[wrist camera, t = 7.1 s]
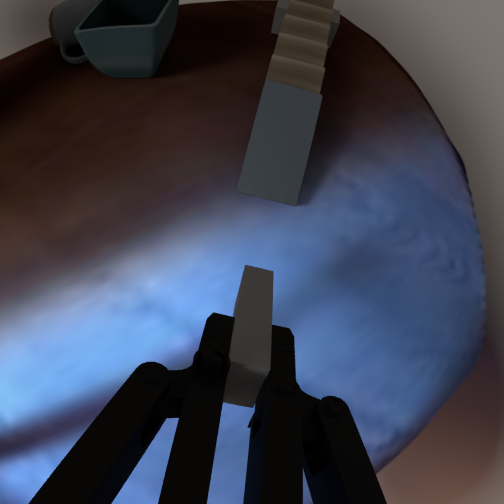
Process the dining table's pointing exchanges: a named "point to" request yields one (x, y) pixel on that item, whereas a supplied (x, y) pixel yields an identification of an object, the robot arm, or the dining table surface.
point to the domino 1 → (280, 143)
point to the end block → (282, 10)
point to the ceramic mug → (69, 25)
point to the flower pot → (127, 35)
